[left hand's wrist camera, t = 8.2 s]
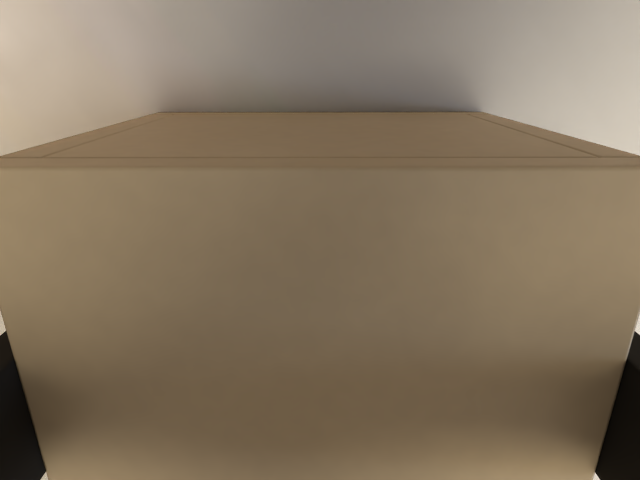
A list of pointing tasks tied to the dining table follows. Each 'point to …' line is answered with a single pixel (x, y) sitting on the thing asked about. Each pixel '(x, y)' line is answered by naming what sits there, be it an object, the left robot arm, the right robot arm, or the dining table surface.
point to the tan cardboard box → (320, 296)
